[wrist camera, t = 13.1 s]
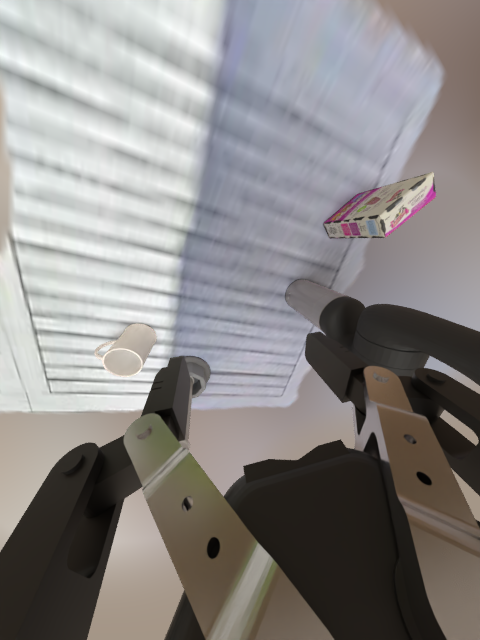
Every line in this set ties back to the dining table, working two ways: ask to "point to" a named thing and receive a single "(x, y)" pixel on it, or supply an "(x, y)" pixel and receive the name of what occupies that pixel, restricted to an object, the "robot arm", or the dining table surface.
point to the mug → (128, 350)
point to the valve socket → (198, 374)
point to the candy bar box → (381, 209)
